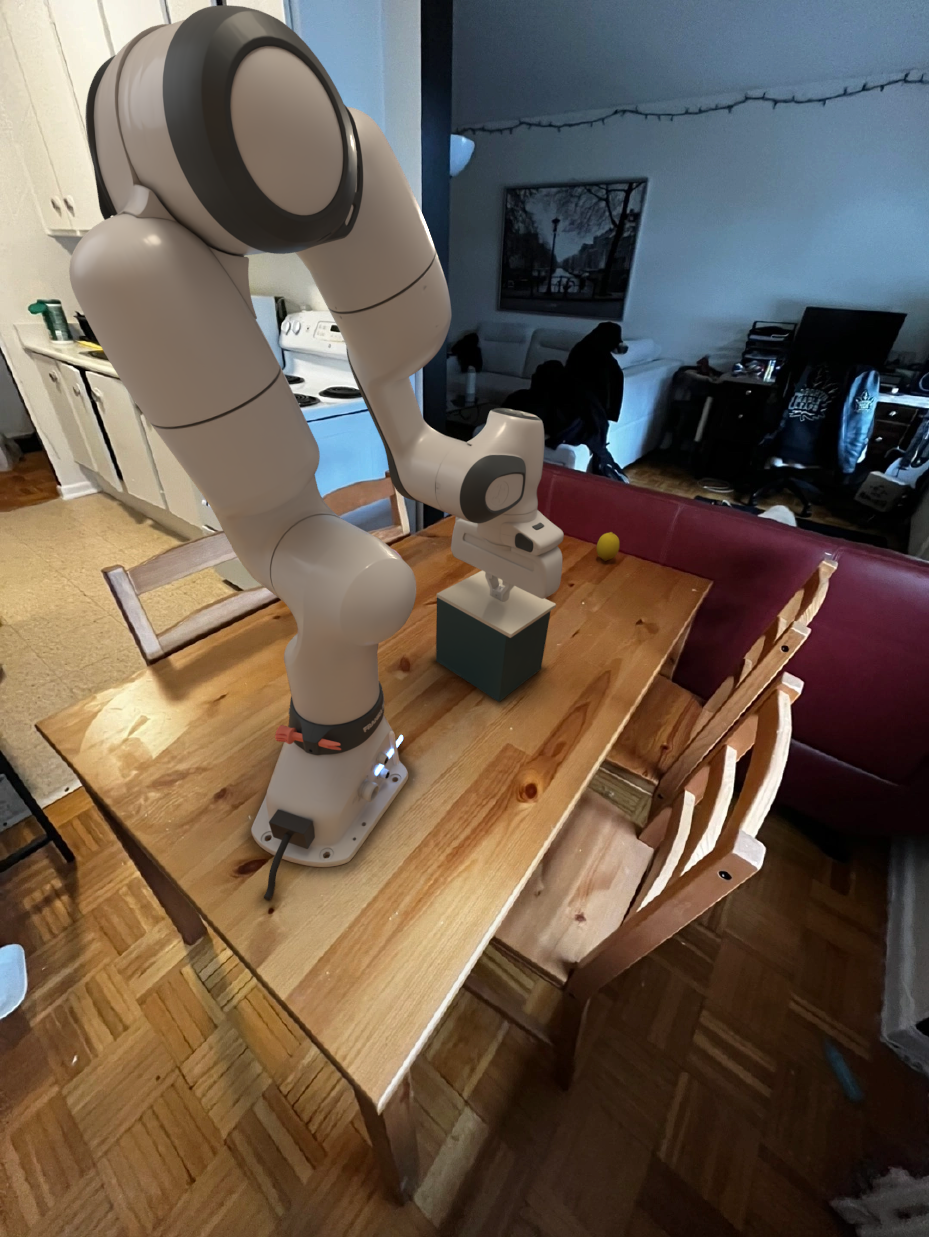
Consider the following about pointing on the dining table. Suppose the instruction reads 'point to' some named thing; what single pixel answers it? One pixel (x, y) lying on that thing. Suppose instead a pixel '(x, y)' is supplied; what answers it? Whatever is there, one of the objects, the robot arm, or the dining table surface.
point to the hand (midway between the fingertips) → (499, 597)
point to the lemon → (608, 546)
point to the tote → (488, 651)
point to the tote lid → (496, 604)
